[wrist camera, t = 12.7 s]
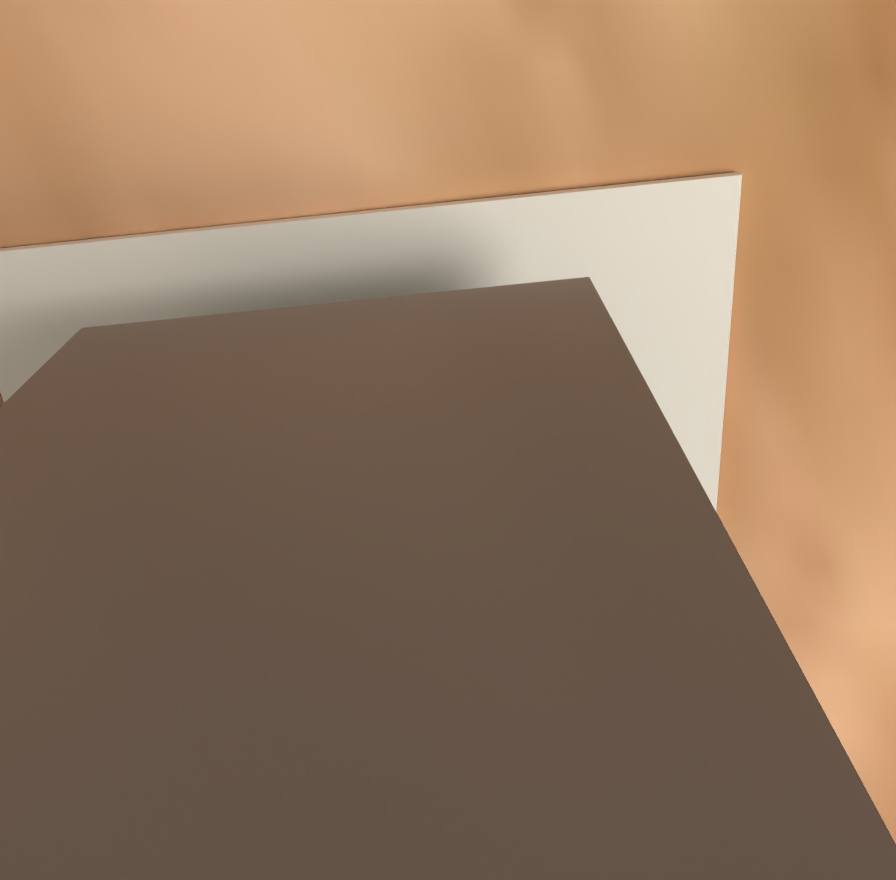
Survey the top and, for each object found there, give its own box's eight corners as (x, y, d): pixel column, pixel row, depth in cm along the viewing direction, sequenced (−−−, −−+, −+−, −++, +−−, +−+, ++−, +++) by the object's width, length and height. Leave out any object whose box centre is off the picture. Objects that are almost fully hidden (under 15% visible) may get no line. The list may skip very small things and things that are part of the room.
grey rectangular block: (81, 327, 11) (-763, 1147, 3) (589, 276, 11) (992, 1023, 3) (253, 835, 16) (91, 1608, 8) (597, 809, 16) (750, 1577, 8)
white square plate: (-48, 253, 12) (-56, 257, 12) (737, 171, 12) (742, 174, 12) (162, 774, 18) (159, 781, 18) (696, 730, 18) (698, 738, 18)
